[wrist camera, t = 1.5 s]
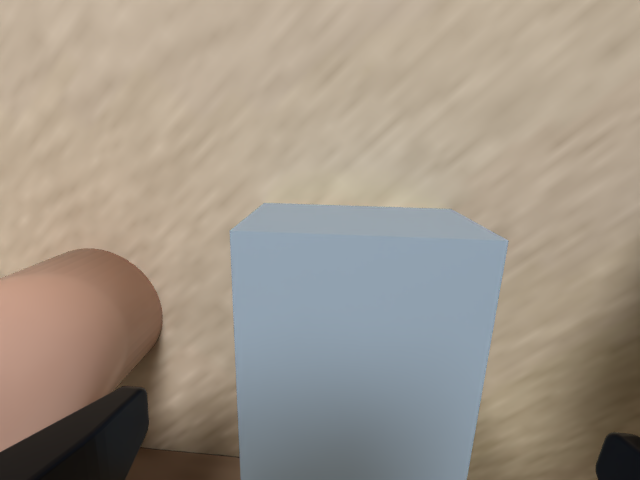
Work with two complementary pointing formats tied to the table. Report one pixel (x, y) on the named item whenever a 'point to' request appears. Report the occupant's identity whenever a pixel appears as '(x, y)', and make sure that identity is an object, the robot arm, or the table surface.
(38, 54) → the table surface
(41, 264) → the peach rounded capsule
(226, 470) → the base slab
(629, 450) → the robot arm
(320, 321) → the block
